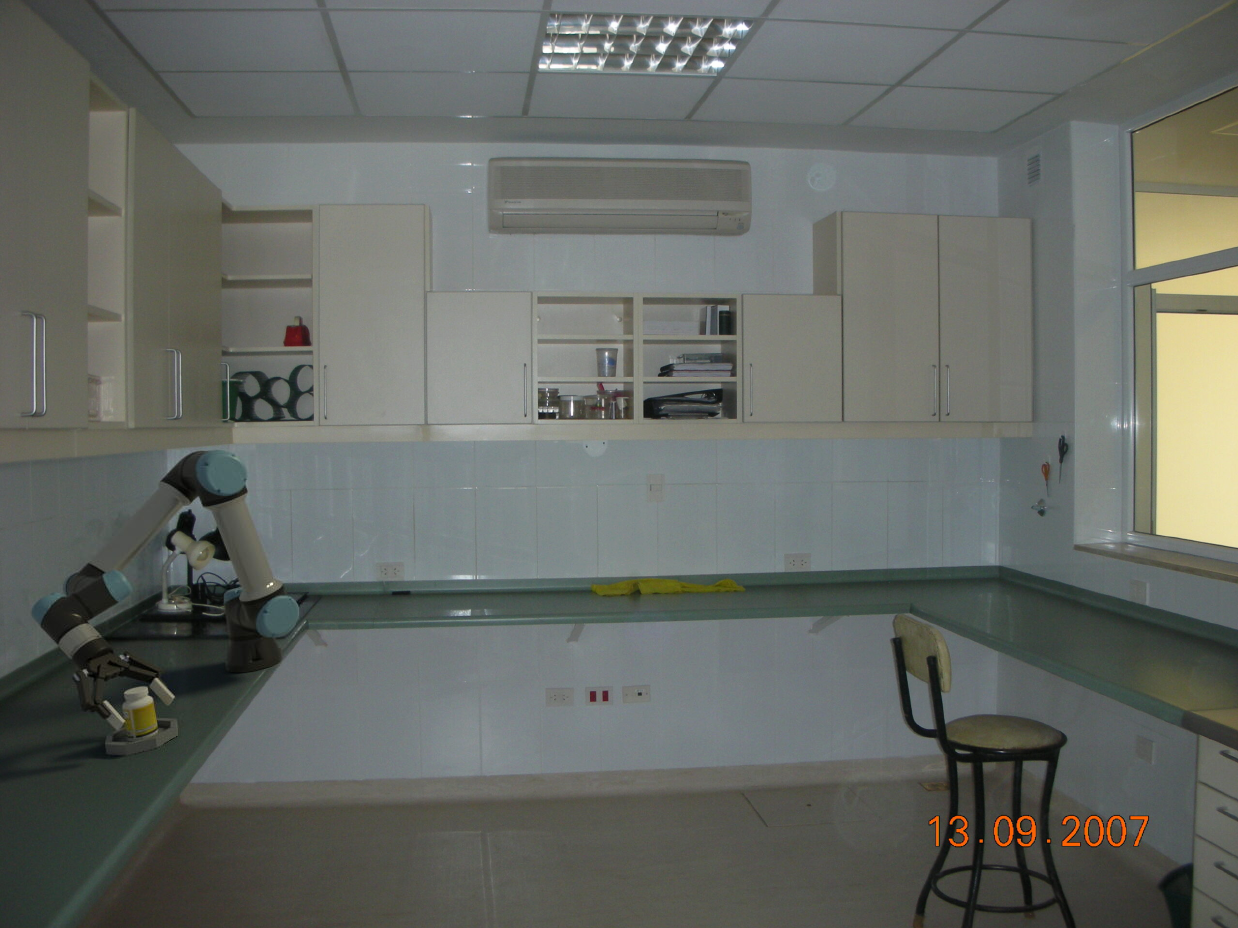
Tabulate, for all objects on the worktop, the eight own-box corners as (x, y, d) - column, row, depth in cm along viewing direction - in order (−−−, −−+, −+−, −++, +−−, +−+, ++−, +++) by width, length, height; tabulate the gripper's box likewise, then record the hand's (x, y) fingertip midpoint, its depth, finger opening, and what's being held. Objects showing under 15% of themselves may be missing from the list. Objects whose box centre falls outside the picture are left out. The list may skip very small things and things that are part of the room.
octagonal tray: (144, 726, 196) (143, 717, 195) (191, 729, 191) (190, 719, 191) (92, 753, 182) (90, 742, 182) (141, 756, 178) (140, 745, 178)
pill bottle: (163, 729, 190) (156, 683, 189) (149, 740, 184) (142, 693, 183) (136, 731, 190) (129, 686, 189) (121, 743, 184) (114, 696, 183)
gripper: (125, 641, 201) (182, 702, 198) (27, 678, 178) (90, 748, 175) (139, 621, 199) (197, 681, 196) (42, 655, 176) (106, 725, 173)
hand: (147, 713), depth 186 cm, fingers open, 13 cm apart
